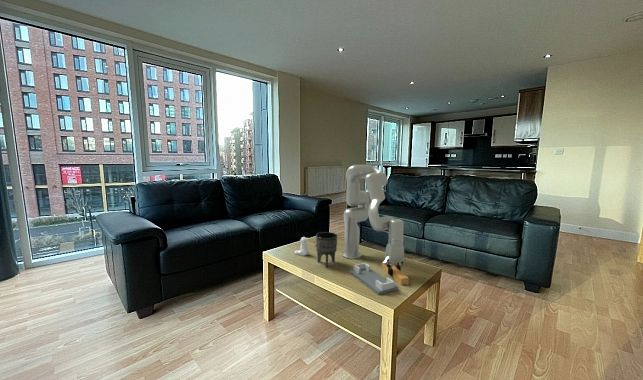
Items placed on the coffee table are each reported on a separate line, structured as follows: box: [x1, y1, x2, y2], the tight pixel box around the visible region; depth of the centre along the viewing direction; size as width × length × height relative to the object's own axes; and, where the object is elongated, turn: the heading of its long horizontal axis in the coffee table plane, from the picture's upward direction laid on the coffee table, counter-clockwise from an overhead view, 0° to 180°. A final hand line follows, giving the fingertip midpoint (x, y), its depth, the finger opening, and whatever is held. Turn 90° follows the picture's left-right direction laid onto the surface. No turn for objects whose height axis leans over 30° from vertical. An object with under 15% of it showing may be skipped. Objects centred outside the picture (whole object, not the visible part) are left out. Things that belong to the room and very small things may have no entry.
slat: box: [381, 260, 409, 286], centre depth 141 cm, size 22×4×4 cm, turn 13°
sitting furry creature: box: [294, 236, 310, 257], centre depth 170 cm, size 10×9×12 cm
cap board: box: [349, 262, 399, 296], centre depth 134 cm, size 25×12×4 cm, turn 25°
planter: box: [315, 231, 338, 268], centre depth 155 cm, size 13×13×18 cm
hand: (394, 273), depth 141 cm, fingers closed on slat, 4 cm apart
